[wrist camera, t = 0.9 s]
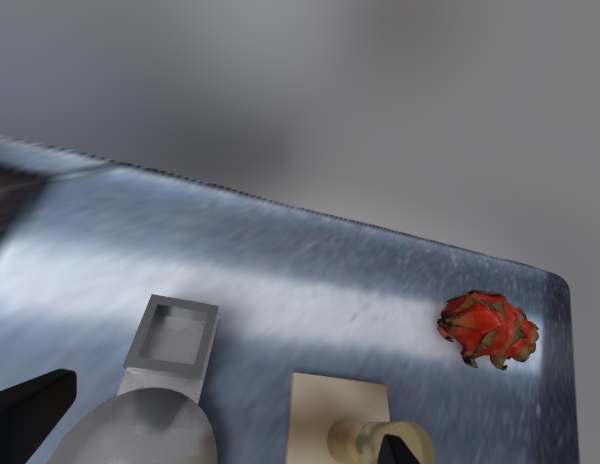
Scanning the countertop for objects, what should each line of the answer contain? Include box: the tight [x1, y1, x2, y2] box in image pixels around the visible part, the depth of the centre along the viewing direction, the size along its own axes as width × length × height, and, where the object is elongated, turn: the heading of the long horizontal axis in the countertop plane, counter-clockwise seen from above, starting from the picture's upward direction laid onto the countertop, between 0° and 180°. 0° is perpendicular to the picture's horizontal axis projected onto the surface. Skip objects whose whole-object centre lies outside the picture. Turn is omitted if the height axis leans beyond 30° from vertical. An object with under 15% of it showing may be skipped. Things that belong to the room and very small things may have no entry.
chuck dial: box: [47, 294, 220, 464], centre depth 20 cm, size 18×11×4 cm, turn 176°
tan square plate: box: [285, 372, 390, 464], centre depth 25 cm, size 10×10×1 cm
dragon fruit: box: [437, 290, 539, 371], centre depth 33 cm, size 8×8×12 cm
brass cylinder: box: [327, 421, 436, 464], centre depth 21 cm, size 3×3×10 cm
